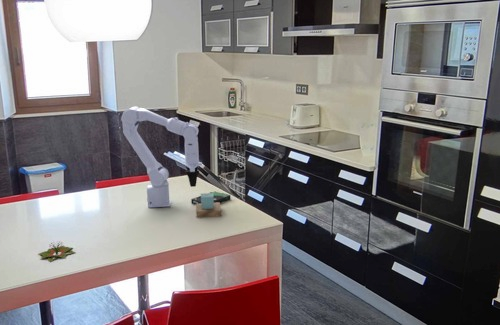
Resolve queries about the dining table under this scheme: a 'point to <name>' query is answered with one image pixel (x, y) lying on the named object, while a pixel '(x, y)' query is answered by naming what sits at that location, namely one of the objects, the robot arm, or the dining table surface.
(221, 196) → the disk drive
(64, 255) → the lily flower
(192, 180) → the robot arm
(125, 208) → the dining table surface
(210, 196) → the teal cube
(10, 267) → the dining table surface
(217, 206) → the brown block
